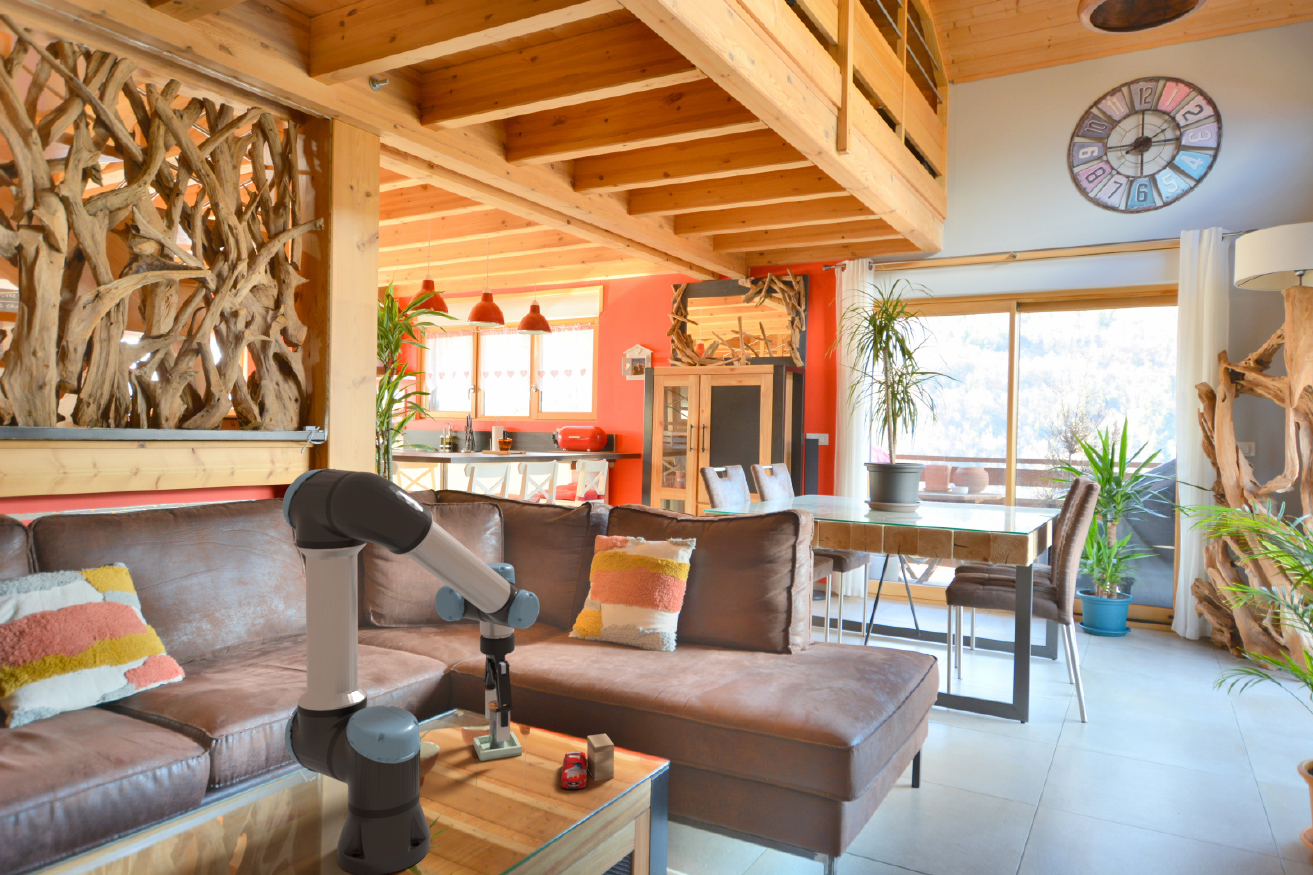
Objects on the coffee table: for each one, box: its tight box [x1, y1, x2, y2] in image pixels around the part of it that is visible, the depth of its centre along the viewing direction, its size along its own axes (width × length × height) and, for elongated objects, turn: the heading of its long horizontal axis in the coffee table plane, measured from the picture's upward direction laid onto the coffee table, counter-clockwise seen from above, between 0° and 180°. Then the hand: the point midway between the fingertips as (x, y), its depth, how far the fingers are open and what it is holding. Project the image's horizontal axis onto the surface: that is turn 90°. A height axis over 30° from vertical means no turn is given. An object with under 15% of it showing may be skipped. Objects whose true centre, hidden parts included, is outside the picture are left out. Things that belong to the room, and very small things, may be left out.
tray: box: [472, 731, 523, 762], centre depth 183 cm, size 9×9×2 cm
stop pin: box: [488, 700, 506, 750], centre depth 183 cm, size 4×4×10 cm
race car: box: [560, 751, 588, 790], centre depth 170 cm, size 13×5×4 cm, turn 2°
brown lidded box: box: [586, 733, 615, 781], centre depth 172 cm, size 4×6×7 cm
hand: (497, 728), depth 183 cm, fingers open, 13 cm apart
